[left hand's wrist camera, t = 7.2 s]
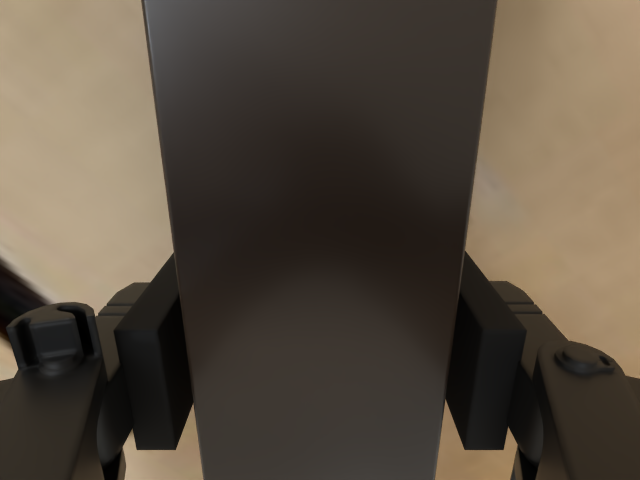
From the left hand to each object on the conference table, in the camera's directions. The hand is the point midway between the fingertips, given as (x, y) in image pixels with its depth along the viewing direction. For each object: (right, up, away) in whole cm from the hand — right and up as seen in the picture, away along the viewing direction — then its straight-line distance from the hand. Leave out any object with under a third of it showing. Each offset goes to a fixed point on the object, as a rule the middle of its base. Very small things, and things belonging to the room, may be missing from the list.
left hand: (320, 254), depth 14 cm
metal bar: (0, +10, -4) cm, 11 cm away
